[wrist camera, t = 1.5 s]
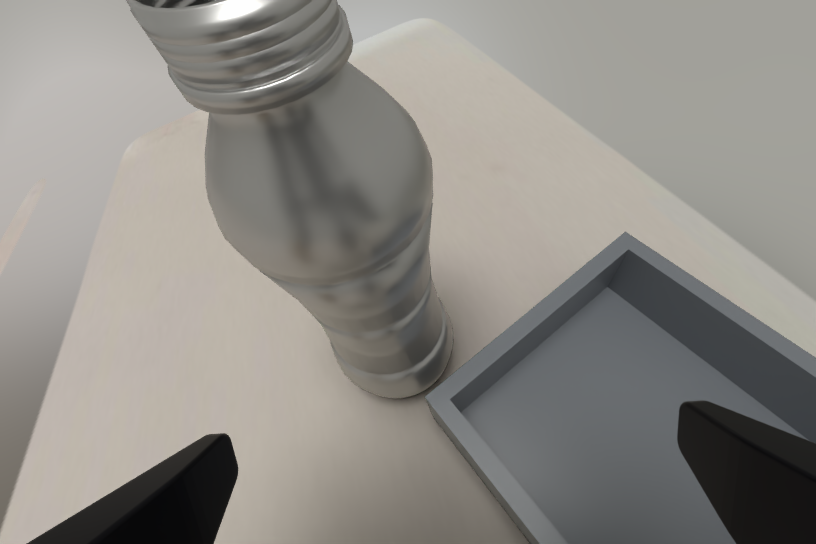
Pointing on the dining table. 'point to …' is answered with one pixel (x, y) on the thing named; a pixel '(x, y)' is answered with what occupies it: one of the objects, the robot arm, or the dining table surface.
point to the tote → (617, 401)
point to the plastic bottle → (314, 176)
